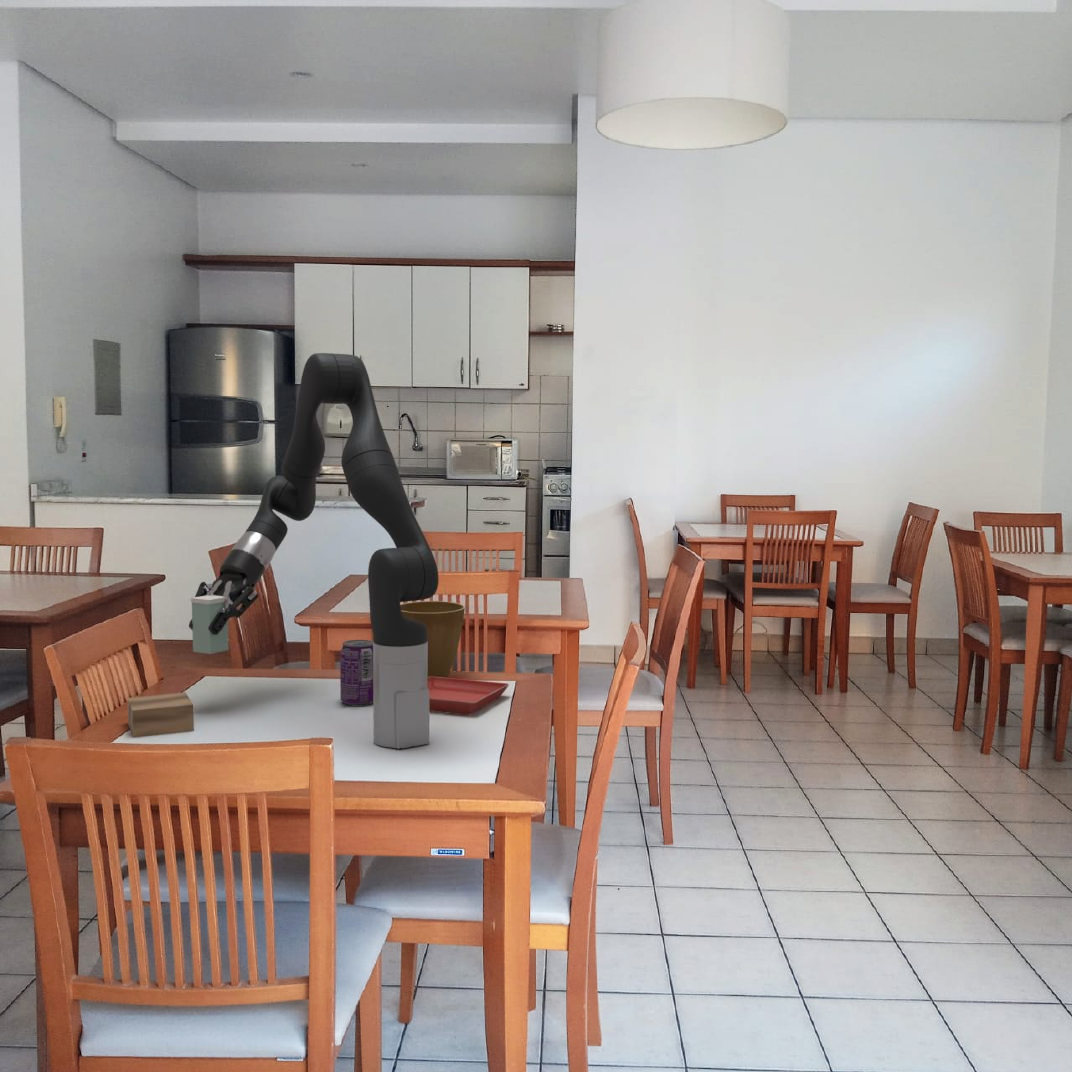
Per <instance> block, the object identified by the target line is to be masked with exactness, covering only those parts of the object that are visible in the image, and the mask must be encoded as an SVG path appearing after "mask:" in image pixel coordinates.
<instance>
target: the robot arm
mask: <svg viewBox="0 0 1072 1072" xmlns="http://www.w3.org/2000/svg"><path fill="white" fill-rule="evenodd" d="M370 381H371V380H370V377H369V373H368V371H367V368H366V366H365V363H364V362H363V360H362V358H360V357H359V356H357V355H353V354H350V353H347V354H346V353H331V352H330V353H328V352H326V353H325V352H315V353H313V354H311V355H310V356H309V357H308V358H307V360H306V362H305V363H304V367H303V370H302V373H301V379H300V385H299V390H298V396H297V401H296V409H295V415H294V423H293V429H292V434H291V437H290V440H289V444H288V446H287V450H286V452H285V454H284V455H285V456H284V458H283V461H282V464H281V468H280V470H281V471H280V472H281V475H279V474H278V475H274V476H272V477H271V478H270V479H269V480H268V481H267V482H266V484H265V486H264V489H263V492H262V496H261V499H260V503H259V505H258V506H259V507H258V509H257V512H256V514H255V516H254V518H253V519H252V521H251V523H250V524H249V526H248V527H247V528H246V530H245V531H244V533H243V534H242V535H241V537H240V538H239V539H238V540H237V541H236V543H235V544H234V545H233V547H232V549H231V550H230V552H229V553H228V555H227V556H226V558H225V560H224V561H223V562H222V563H221V565H220V567H219V576H218V577H217V578H216V579H215V580H214V581H213V582H212V583H206V581H202V582H200V584H199V586H198V587H197V588H198V589H197V591H196V593H195V595H194V598H195V597H201V596H207V595H208V596H212V595H215V596H223V597H225V599H224V603H223V605H222V607H221V609H220V612H221V613H217V615H216V617H215V618H214V620H213V621H212V623H211V624H210V625H209V627H208V629H209V631H210V632H211V633H212V634H214V635H217V634H218V633H219V632H220V631H221V630H222V628H223V627H224V625H225V624H226V622H227V621H228V622H229V620H231V619H233V617H235V619H239V618H241V616H242V615H243V614H244V613H246V611H247V610H248V608H250V607H251V606H252V604H253V603H254V602H255V601H256V600H257V599H258V598H259V596H260V595H259V593H258V592H257V591H256V590H255V588H256V585H257V584H258V583H259V581H260V579H261V578H262V577H263V575H264V573H265V572H266V570H267V568H269V565H270V564H271V562H272V560H273V559H274V556H275V553H276V552H277V550H278V549H279V547H280V546H281V544H282V542H283V541H284V539H285V537H286V536H287V534H288V529H289V528H288V526H287V524H286V522H285V521H284V520H283V519H282V518H281V517H280V516H279V515H278V514H276V512H277V513H279V514H281V515H284V516H285V517H287V518H289V519H291V520H293V521H297V522H301V521H304V520H306V519H307V518H309V517H310V515H312V513H313V511H314V509H315V504H316V499H317V497H316V496H317V488H316V486H317V485H316V484H317V475H318V473H319V470H320V467H321V465H322V464H323V463H322V462H323V460H324V456H325V453H326V443H325V439H324V435H323V432H322V430H321V428H320V427H321V426H320V424H319V421H318V418H317V413H318V410H319V408H320V406H321V404H328V405H329V404H330V405H331V404H332V405H333V404H335V405H346V406H347V407H348V409H349V412H350V413H351V418H352V419H351V420H352V426H351V429H350V432H349V435H348V436H347V440H346V443H345V445H344V446H343V447H344V448H343V450H342V452H341V453H342V454H341V467H342V472H343V475H344V478H345V481H346V483H347V486H348V489H349V493H350V494H351V497H352V498H353V499H354V500H355V502H356V503H357V505H359V506H360V507H361V509H363V511H365V512H366V514H368V515H369V516H370V517H371V518H372V519H374V520H375V522H377V523H378V524H379V525H380V526H381V527H382V528H383V529H384V530H385V532H387V534H388V535H389V537H390V538H391V540H392V541H393V543H394V546H395V547H387V548H379V549H377V550H375V551H374V553H373V554H372V555H371V557H370V560H369V562H368V568H367V569H368V571H367V581H368V582H367V583H368V584H367V585H368V586H367V587H368V597H369V598H368V600H369V620H370V621H369V622H370V626H371V630H372V641H373V702H372V703H373V707H372V708H373V711H372V712H373V714H372V715H373V716H372V717H373V718H372V719H373V743H374V744H375V745H378V746H381V747H384V748H385V747H386V748H393V749H396V748H402V749H406V748H408V749H409V748H412V746H413V747H418V746H422V745H427V744H428V745H429V744H430V711H429V689H428V630H427V626H426V625H425V624H423V623H421V622H418V621H414V620H411V619H408V618H406V617H405V616H403V614H402V612H401V605H400V604H401V603H403V602H404V603H409V602H418V601H425V600H428V599H430V598H433V596H435V594H436V592H437V590H438V588H439V570H438V566H437V562H436V559H435V556H434V554H433V551H432V549H431V547H430V545H429V543H428V540H427V539H426V536H425V535H424V532H423V530H422V528H421V527H420V524H419V522H418V520H417V518H416V516H415V514H414V513H415V512H414V511H413V509H412V506H411V504H410V500H409V499H408V496H407V492H406V490H405V487H404V484H403V482H402V479H401V475H400V471H399V469H398V466H397V463H396V460H395V458H394V455H393V453H392V452H393V451H392V450H391V447H390V446H389V443H388V440H387V437H386V434H385V432H384V429H383V425H382V423H381V420H380V417H379V416H380V415H379V413H378V409H377V405H376V401H375V398H374V393H373V390H372V385H371V382H370ZM274 511H275V512H274ZM240 605H241V606H240ZM239 606H240V607H239ZM238 608H239V609H238ZM188 628H189V629H190V630H191V631H192V632H193V630H192V629H193V623H192V618H191V620H190V621H189V624H188Z"/></svg>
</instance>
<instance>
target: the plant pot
mask: <svg viewBox="0 0 1072 1072" xmlns="http://www.w3.org/2000/svg"><path fill="white" fill-rule="evenodd" d="M400 605H401V612H402V614H403V616H405V617H406V618H408V619H411V620H414V621H418V622H421V623H423V624H425V625H426V626H427V630H428V677H443V678H449V676H450V673H451V670H452V667H453V665H454V662H455V660H456V659H455V658H456V655H457V652H458V647H459V643H460V639H461V634H462V629H463V623H464V616H465V611H466V609H465V608H466V606H465V605H464V604H462V603H458V602H453V601H443V600H419V601H409V602H404V603H400Z"/></svg>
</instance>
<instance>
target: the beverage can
mask: <svg viewBox="0 0 1072 1072" xmlns="http://www.w3.org/2000/svg"><path fill="white" fill-rule="evenodd" d="M339 653H340V654H339V657H340V658H339V659H340V662H339V663H340V664H339V667H340V668H339V669H340V670H339V671H340V676H339V677H340V678H339V679H340V680H339V681H340V684H339V686H340V693H339V694H340V701H341V702H343V704H344V703H345V704H346V705H348V706H352V705H355V706H356V705H357V706H358V707H361V706H360V705H362V706H368V705H371V704H372V703H373V640H370V639H351V640H345V641H343V642H342V647H341V649H340V651H339ZM370 703H371V704H370ZM367 704H368V705H367Z"/></svg>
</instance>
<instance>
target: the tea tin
mask: <svg viewBox="0 0 1072 1072" xmlns="http://www.w3.org/2000/svg"><path fill="white" fill-rule="evenodd" d="M224 599H225V597H223V596H215V595H212V596H208V595H207V596H201V597H195V596H194V597H191V598H190V602H191V619H192V623H193V629H192V630H193V631H192V630H191V631H192V652H194V653H199V654H208V655H213V654H216V653H221V652H226V651H229V648H230V647H229V620H228V621H227V622H226V624H225V625H224V627H223V628H222V630H221V631H220V632H219V633H218V634H217V635H214V634H212V633H211V632H210V631H209V629H208V627H209V625H210V624H211V623H212V621H213V620H214V618H215V617H216V615H217V613H221V612H220V609H221V607H222V605H223V603H224Z"/></svg>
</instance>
